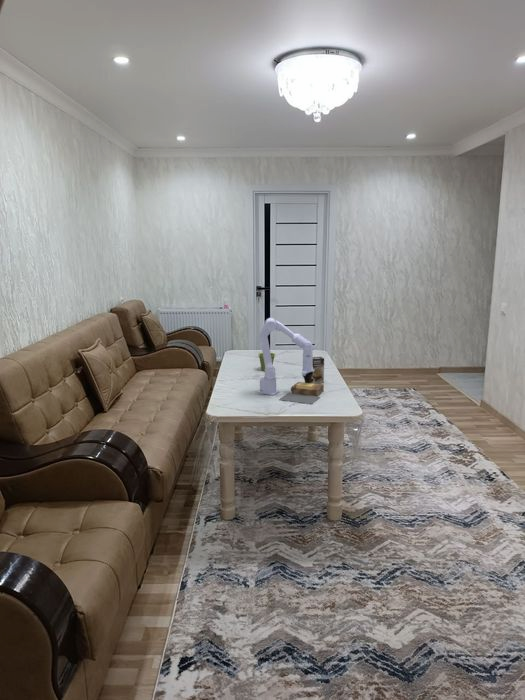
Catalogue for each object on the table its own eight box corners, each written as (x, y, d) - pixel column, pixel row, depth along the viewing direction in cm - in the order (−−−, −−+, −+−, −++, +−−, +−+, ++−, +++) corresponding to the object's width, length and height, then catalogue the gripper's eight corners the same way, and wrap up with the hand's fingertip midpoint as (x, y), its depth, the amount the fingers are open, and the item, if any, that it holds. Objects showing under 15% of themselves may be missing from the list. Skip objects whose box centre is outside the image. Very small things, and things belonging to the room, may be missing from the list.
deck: (291, 393, 299) (291, 387, 298) (298, 388, 310) (298, 381, 309) (317, 396, 293) (317, 390, 292) (323, 390, 303) (323, 384, 303)
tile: (296, 388, 296) (296, 384, 296) (300, 385, 302) (300, 382, 301) (311, 389, 292) (311, 386, 292) (314, 387, 298) (314, 383, 297)
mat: (278, 400, 288) (278, 399, 288) (287, 393, 300) (287, 392, 300) (312, 404, 280) (312, 403, 279) (320, 397, 291) (320, 396, 291)
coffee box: (310, 384, 317) (310, 359, 313) (307, 381, 323) (307, 357, 319) (324, 383, 319) (324, 358, 315) (321, 380, 325) (321, 356, 321)
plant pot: (269, 373, 344) (269, 357, 342) (255, 371, 351) (254, 355, 349) (278, 369, 354) (278, 353, 352) (264, 367, 361) (264, 351, 358)
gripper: (310, 365, 289) (310, 388, 292) (318, 359, 302) (317, 382, 305) (298, 364, 292) (298, 387, 295) (306, 358, 305) (306, 380, 308)
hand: (307, 384), depth 301 cm, fingers closed
